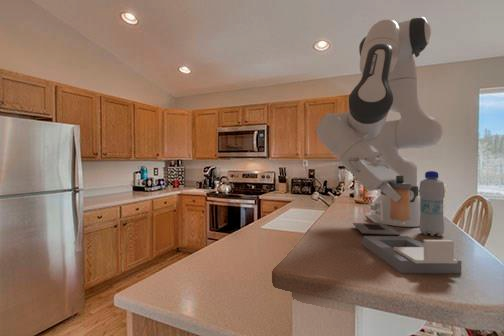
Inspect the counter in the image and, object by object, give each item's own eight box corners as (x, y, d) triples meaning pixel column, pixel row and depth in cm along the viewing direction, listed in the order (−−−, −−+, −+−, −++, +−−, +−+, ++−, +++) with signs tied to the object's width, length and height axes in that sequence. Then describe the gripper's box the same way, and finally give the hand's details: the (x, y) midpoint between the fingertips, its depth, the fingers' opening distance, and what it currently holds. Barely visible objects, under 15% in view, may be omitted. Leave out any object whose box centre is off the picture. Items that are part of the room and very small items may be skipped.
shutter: (393, 249, 57) (393, 229, 57) (429, 249, 57) (429, 229, 57) (419, 265, 48) (419, 241, 48) (461, 265, 48) (461, 241, 48)
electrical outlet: (400, 240, 74) (400, 232, 74) (362, 239, 76) (362, 231, 76) (384, 230, 87) (384, 223, 87) (352, 228, 89) (352, 222, 89)
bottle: (446, 238, 74) (446, 171, 74) (419, 235, 78) (419, 171, 78) (443, 233, 80) (443, 170, 80) (418, 230, 84) (418, 170, 84)
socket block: (363, 245, 69) (363, 236, 69) (407, 245, 68) (407, 236, 68) (400, 273, 51) (400, 260, 51) (461, 273, 50) (461, 261, 50)
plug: (384, 220, 64) (384, 175, 64) (403, 220, 64) (403, 175, 64) (395, 225, 59) (395, 175, 59) (415, 225, 59) (416, 176, 59)
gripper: (354, 148, 59) (402, 193, 52) (381, 152, 73) (421, 187, 67) (336, 167, 62) (378, 212, 55) (366, 167, 76) (402, 203, 70)
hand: (402, 198), depth 61 cm, fingers closed on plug, 4 cm apart
